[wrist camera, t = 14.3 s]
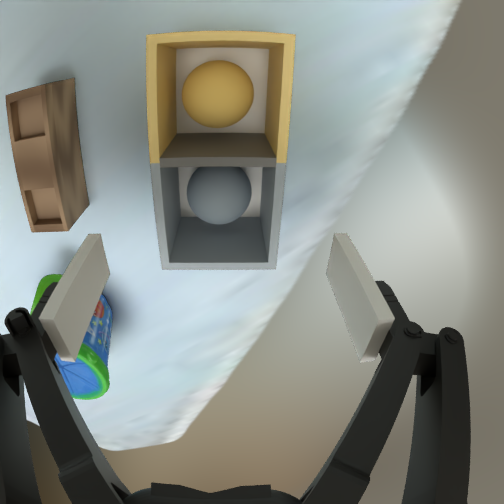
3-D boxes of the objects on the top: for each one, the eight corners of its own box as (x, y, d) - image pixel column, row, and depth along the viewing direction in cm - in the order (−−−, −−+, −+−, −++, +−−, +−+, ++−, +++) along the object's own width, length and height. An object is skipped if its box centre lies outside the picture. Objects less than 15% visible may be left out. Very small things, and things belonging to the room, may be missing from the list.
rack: (37, 86, 20) (5, 95, 16) (74, 77, 20) (44, 84, 16) (55, 206, 27) (31, 232, 22) (89, 204, 27) (68, 231, 23)
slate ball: (189, 152, 25) (180, 172, 21) (250, 152, 25) (255, 172, 21) (191, 207, 27) (185, 236, 23) (248, 207, 28) (252, 236, 24)
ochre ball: (189, 61, 21) (174, 60, 16) (255, 61, 21) (256, 60, 17) (188, 121, 23) (175, 135, 19) (252, 122, 24) (252, 135, 19)
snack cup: (131, 352, 39) (118, 418, 30) (62, 340, 37) (39, 399, 29) (121, 257, 30) (90, 330, 22) (36, 245, 29) (-9, 308, 20)
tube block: (170, 42, 20) (146, 34, 14) (276, 42, 20) (295, 34, 14) (175, 220, 29) (162, 269, 22) (265, 220, 29) (275, 269, 23)
